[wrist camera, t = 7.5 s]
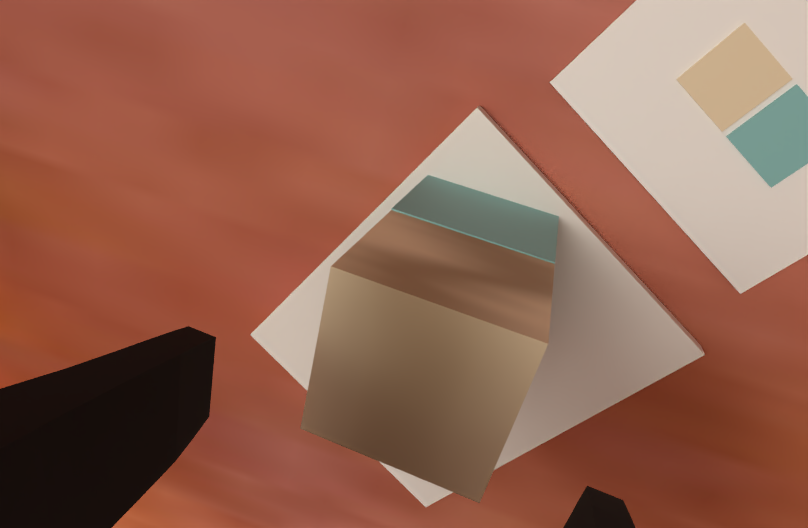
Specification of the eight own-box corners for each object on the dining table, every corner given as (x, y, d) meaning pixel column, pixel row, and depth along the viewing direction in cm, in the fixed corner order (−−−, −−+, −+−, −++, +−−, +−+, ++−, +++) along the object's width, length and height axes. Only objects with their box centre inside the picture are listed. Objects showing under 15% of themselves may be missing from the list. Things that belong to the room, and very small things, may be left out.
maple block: (555, 264, 13) (548, 343, 10) (500, 397, 15) (479, 503, 12) (391, 209, 14) (330, 266, 11) (360, 343, 16) (300, 428, 13)
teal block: (558, 216, 17) (555, 262, 13) (514, 329, 19) (501, 395, 15) (428, 174, 18) (391, 208, 14) (398, 288, 20) (360, 342, 16)
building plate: (701, 345, 18) (704, 354, 17) (428, 497, 24) (425, 507, 23) (480, 105, 17) (476, 107, 16) (257, 327, 23) (250, 334, 23)
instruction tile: (999, 137, 13) (1007, 140, 13) (738, 291, 17) (741, 295, 16) (777, -134, 13) (781, -138, 12) (549, 82, 16) (549, 82, 16)
